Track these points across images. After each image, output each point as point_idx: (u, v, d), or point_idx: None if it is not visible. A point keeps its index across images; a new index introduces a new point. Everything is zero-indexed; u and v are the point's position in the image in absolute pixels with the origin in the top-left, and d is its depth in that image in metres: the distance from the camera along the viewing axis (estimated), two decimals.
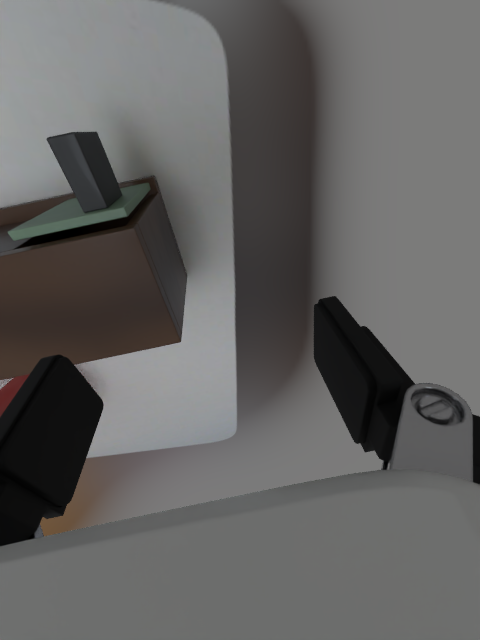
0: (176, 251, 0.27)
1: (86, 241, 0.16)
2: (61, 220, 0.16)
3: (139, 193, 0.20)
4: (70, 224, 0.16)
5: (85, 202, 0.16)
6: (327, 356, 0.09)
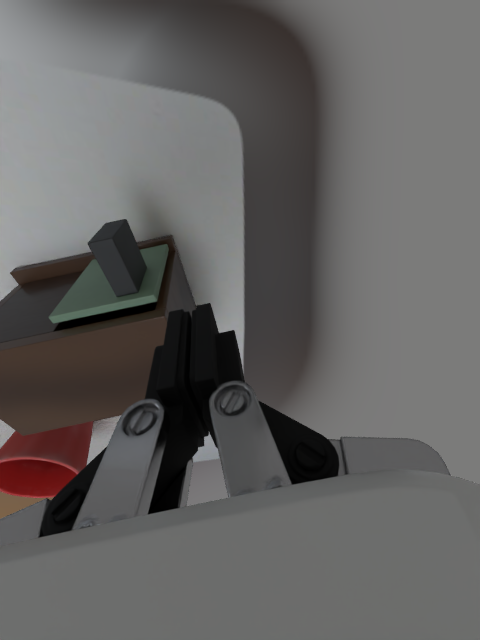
0: (191, 300, 0.29)
1: (121, 327, 0.18)
2: (97, 306, 0.18)
3: (162, 265, 0.22)
4: (105, 309, 0.18)
5: (118, 289, 0.18)
6: None
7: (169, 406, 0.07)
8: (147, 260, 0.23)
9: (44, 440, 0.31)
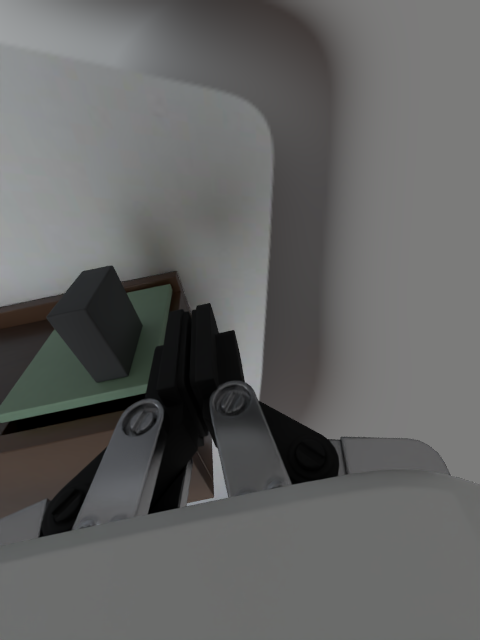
0: None
1: (101, 435, 0.12)
2: (66, 400, 0.12)
3: (164, 321, 0.16)
4: (78, 403, 0.12)
5: (99, 373, 0.12)
6: None
7: (169, 406, 0.07)
8: (143, 311, 0.17)
9: None
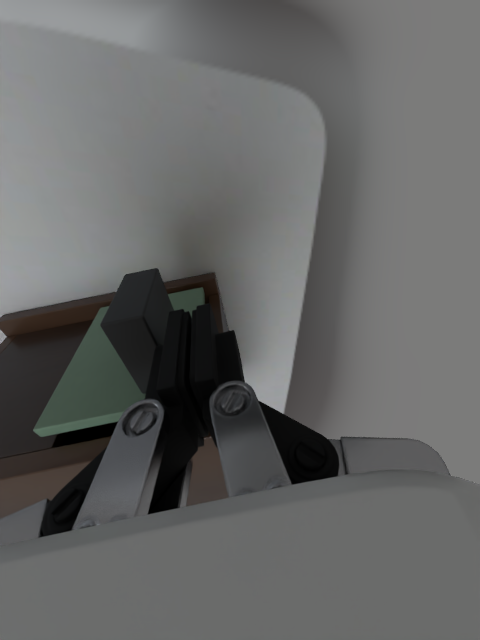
0: None
1: None
2: (112, 413, 0.11)
3: None
4: None
5: (146, 384, 0.11)
6: None
7: (169, 406, 0.07)
8: None
9: None
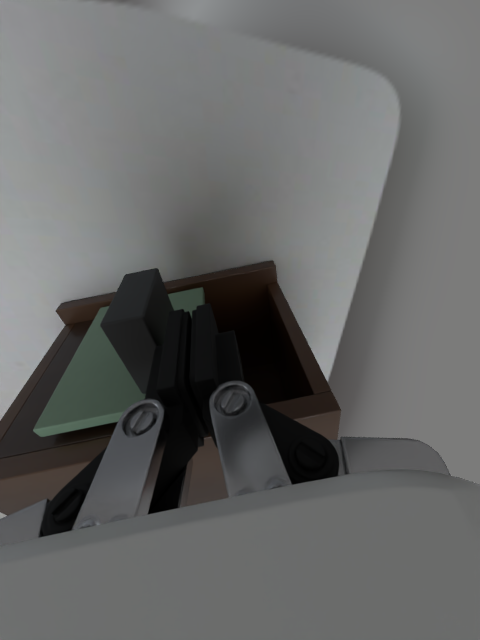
0: None
1: None
2: (112, 413, 0.11)
3: None
4: None
5: (146, 384, 0.11)
6: None
7: (169, 406, 0.07)
8: None
9: None
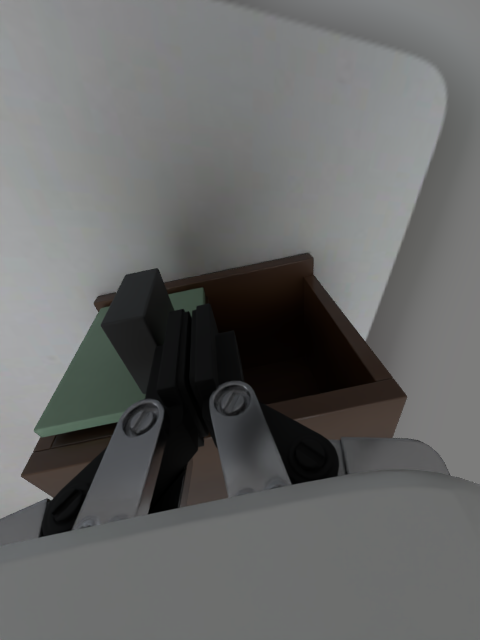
0: None
1: (334, 414, 0.11)
2: (112, 413, 0.11)
3: None
4: None
5: (147, 384, 0.11)
6: None
7: (169, 406, 0.07)
8: None
9: None
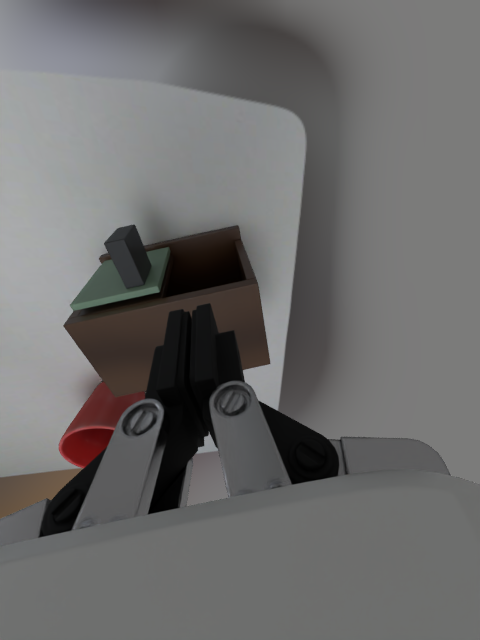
0: None
1: (221, 293, 0.21)
2: (110, 296, 0.21)
3: (164, 263, 0.25)
4: (116, 298, 0.22)
5: (128, 281, 0.22)
6: None
7: (169, 406, 0.07)
8: (152, 260, 0.26)
9: (113, 413, 0.35)
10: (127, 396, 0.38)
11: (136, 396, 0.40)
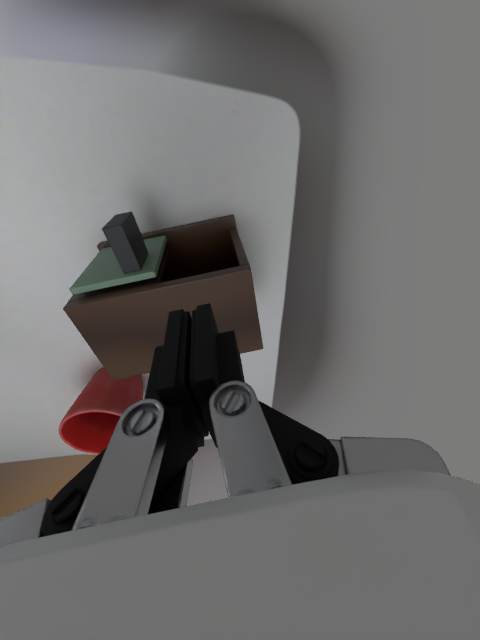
0: None
1: (215, 278, 0.22)
2: (108, 280, 0.22)
3: (161, 250, 0.26)
4: (114, 283, 0.22)
5: (125, 267, 0.22)
6: None
7: (169, 406, 0.07)
8: (148, 247, 0.27)
9: (111, 398, 0.36)
10: (125, 382, 0.39)
11: (133, 383, 0.41)
